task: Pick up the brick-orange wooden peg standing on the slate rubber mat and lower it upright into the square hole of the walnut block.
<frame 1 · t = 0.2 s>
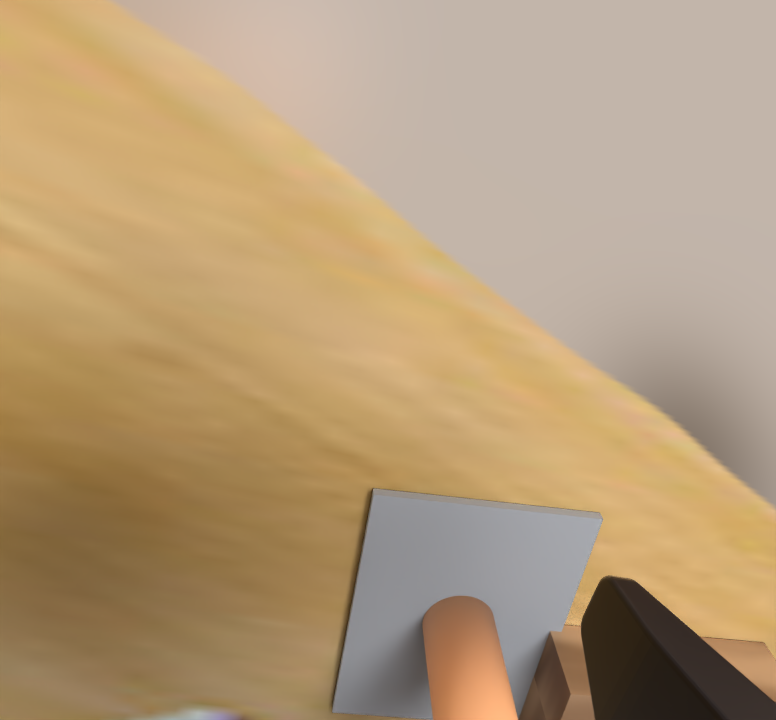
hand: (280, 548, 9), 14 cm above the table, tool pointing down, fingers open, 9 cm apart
mat: (456, 615, 29), on the table
peg: (458, 622, 29), resting on mat
hole block: (623, 711, 32), on the table
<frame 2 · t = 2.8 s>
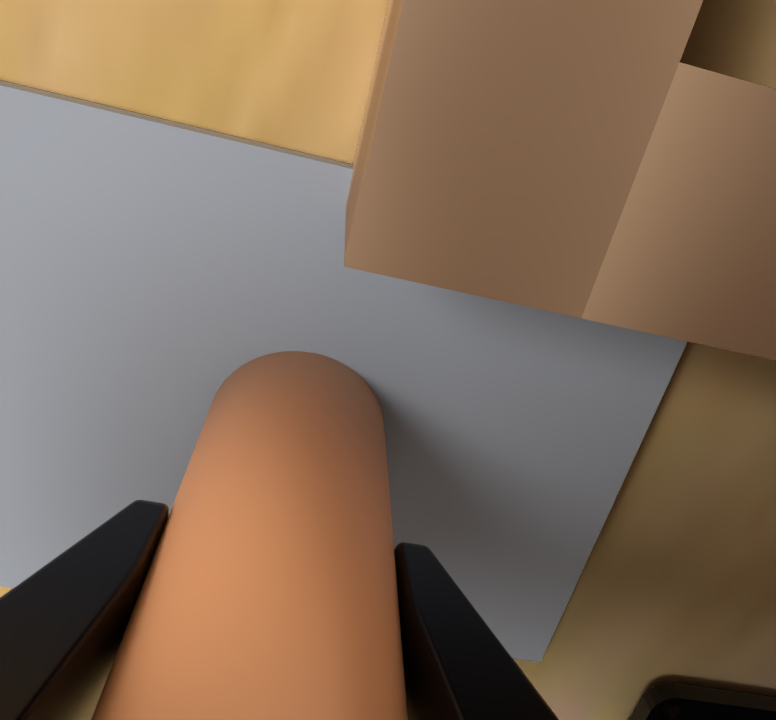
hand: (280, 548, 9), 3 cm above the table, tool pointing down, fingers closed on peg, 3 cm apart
mat: (298, 418, 12), on the table
peg: (296, 430, 12), resting on mat, touching gripper
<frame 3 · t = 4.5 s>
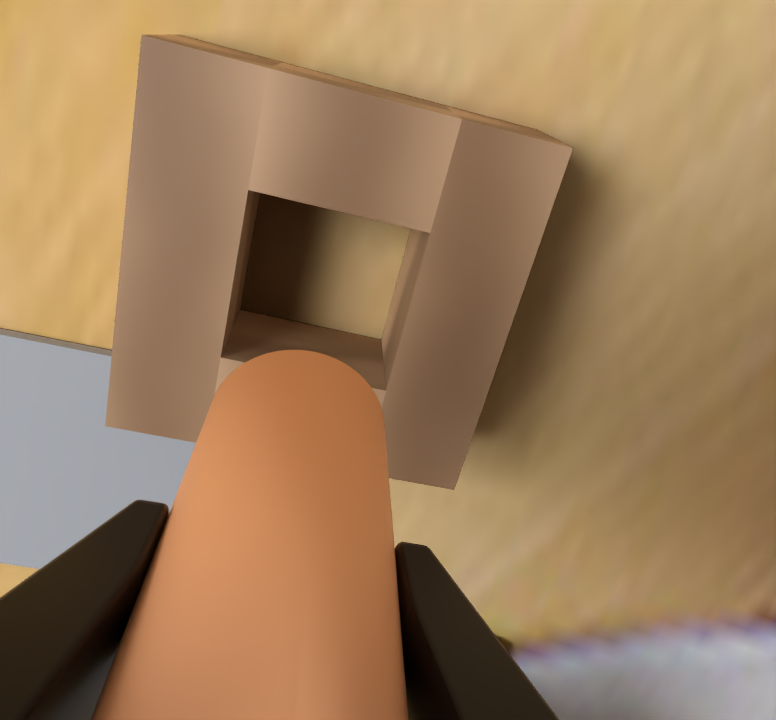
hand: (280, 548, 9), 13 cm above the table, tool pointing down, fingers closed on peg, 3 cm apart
mat: (128, 472, 24), on the table
peg: (297, 429, 12), point 10 cm above the table, touching gripper
hole block: (326, 257, 21), on the table
when the fingers open (4 cm above the table, at t = 6.6 s): peg drops 1 cm, resting in hole block.
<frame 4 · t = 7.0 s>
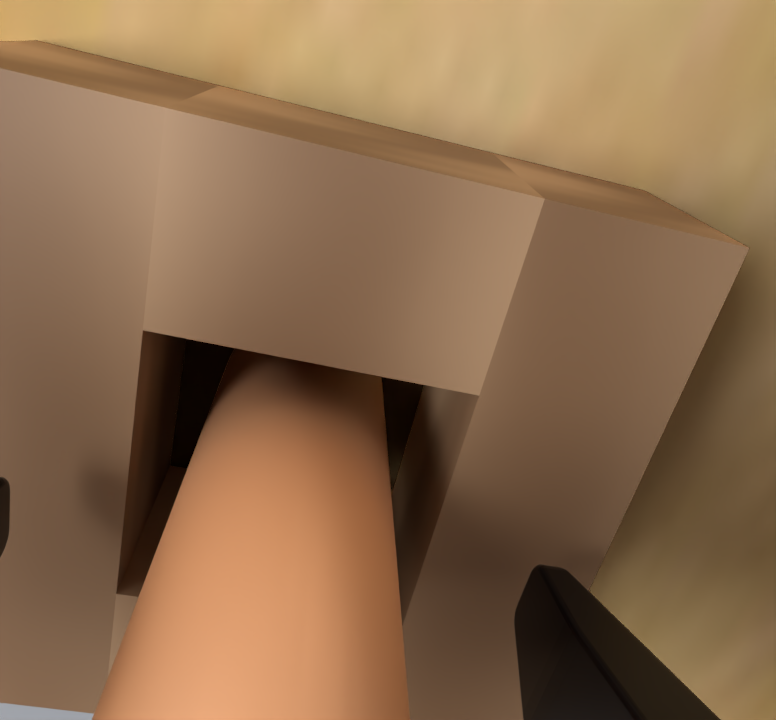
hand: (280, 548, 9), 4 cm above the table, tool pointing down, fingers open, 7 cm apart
mat: (19, 683, 16), on the table
peg: (303, 388, 13), resting in hole block
hole block: (302, 388, 13), on the table
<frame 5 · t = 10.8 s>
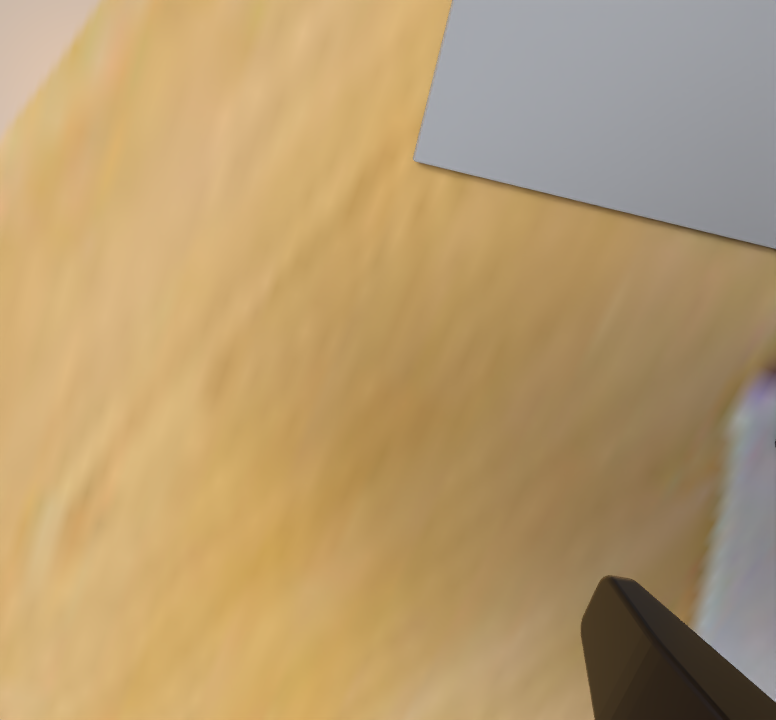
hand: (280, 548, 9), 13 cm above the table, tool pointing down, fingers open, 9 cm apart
mat: (667, 44, 19), on the table
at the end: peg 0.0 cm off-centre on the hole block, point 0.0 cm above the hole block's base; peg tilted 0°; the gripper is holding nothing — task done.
